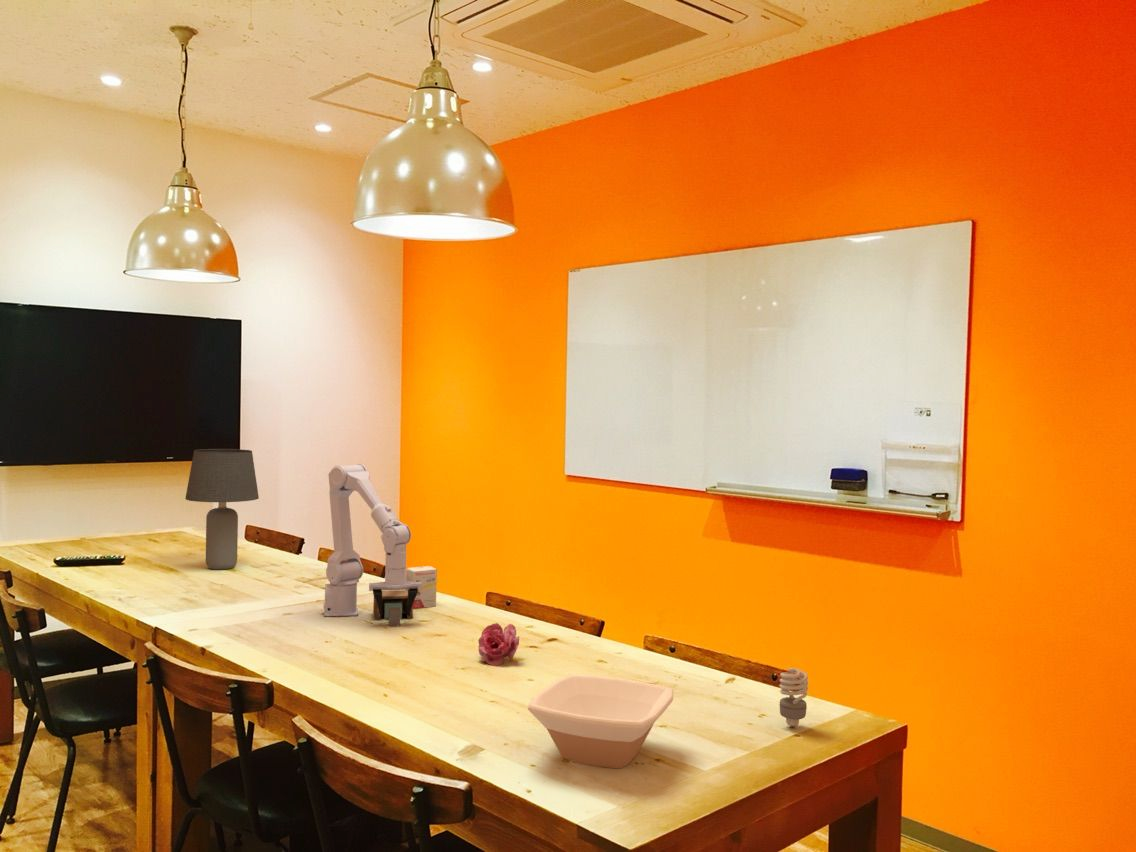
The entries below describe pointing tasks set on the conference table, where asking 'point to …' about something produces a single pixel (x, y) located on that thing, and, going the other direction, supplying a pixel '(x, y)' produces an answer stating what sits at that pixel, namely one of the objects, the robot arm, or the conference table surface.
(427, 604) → the ink box
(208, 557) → the lamp
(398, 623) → the block with rod
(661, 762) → the conference table surface
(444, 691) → the conference table surface
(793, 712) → the light bulb
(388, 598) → the walnut cubby
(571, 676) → the bowl
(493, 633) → the flower
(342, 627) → the conference table surface
